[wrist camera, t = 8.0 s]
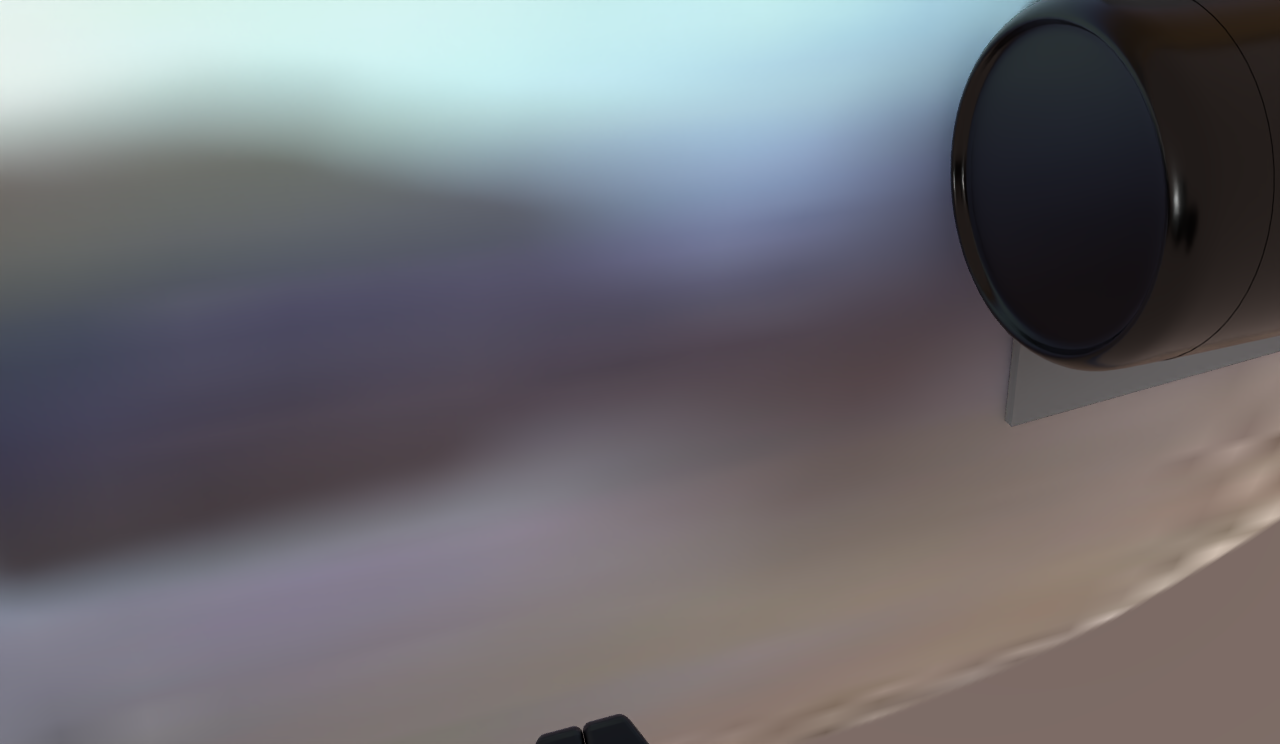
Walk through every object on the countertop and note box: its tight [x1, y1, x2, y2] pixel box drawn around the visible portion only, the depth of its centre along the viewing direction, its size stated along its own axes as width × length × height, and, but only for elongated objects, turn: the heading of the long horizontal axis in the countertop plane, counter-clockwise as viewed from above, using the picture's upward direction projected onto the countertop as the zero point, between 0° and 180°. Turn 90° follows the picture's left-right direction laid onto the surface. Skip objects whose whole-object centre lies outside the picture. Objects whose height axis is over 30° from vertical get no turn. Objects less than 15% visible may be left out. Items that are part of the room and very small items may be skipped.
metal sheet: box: [1005, 336, 1280, 427], centre depth 22 cm, size 11×16×1 cm
